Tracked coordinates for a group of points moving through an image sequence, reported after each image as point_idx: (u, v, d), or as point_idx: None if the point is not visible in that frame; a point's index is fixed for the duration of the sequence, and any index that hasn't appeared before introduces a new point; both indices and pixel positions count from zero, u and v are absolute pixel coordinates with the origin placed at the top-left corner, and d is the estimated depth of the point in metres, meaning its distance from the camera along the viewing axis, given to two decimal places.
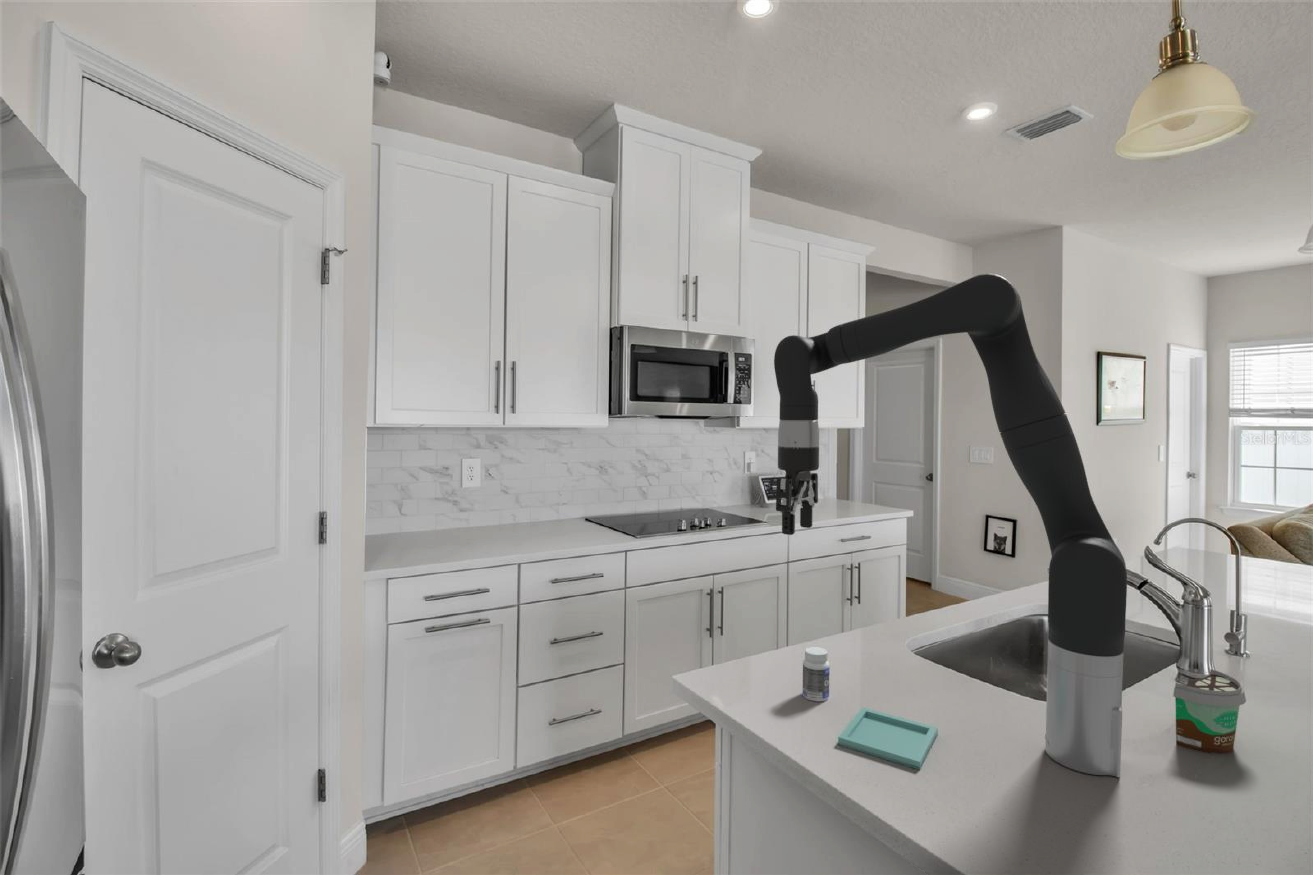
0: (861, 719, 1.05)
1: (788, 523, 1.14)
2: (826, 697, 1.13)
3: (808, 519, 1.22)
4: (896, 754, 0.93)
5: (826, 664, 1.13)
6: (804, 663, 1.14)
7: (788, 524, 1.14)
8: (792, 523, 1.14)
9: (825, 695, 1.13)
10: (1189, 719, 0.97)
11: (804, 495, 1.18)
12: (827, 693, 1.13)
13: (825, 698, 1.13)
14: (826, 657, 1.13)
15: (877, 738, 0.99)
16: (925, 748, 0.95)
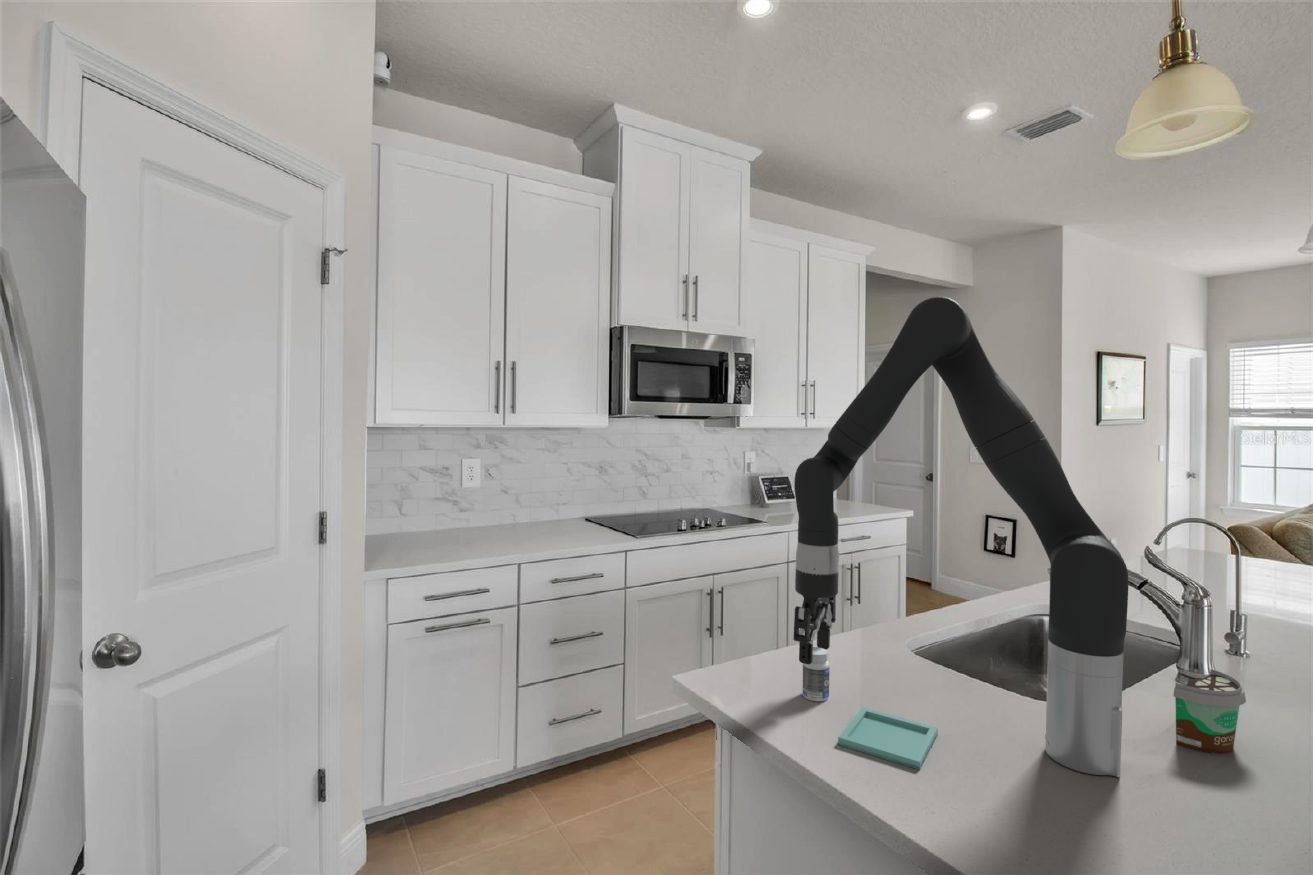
0: (861, 719, 1.05)
1: (806, 653, 1.10)
2: (826, 697, 1.13)
3: (825, 640, 1.17)
4: (896, 754, 0.93)
5: (826, 664, 1.13)
6: None
7: (805, 654, 1.10)
8: (810, 652, 1.10)
9: (825, 695, 1.13)
10: (1189, 719, 0.97)
11: (822, 619, 1.14)
12: (827, 693, 1.13)
13: (825, 698, 1.13)
14: (826, 657, 1.13)
15: (877, 738, 0.99)
16: (925, 748, 0.95)
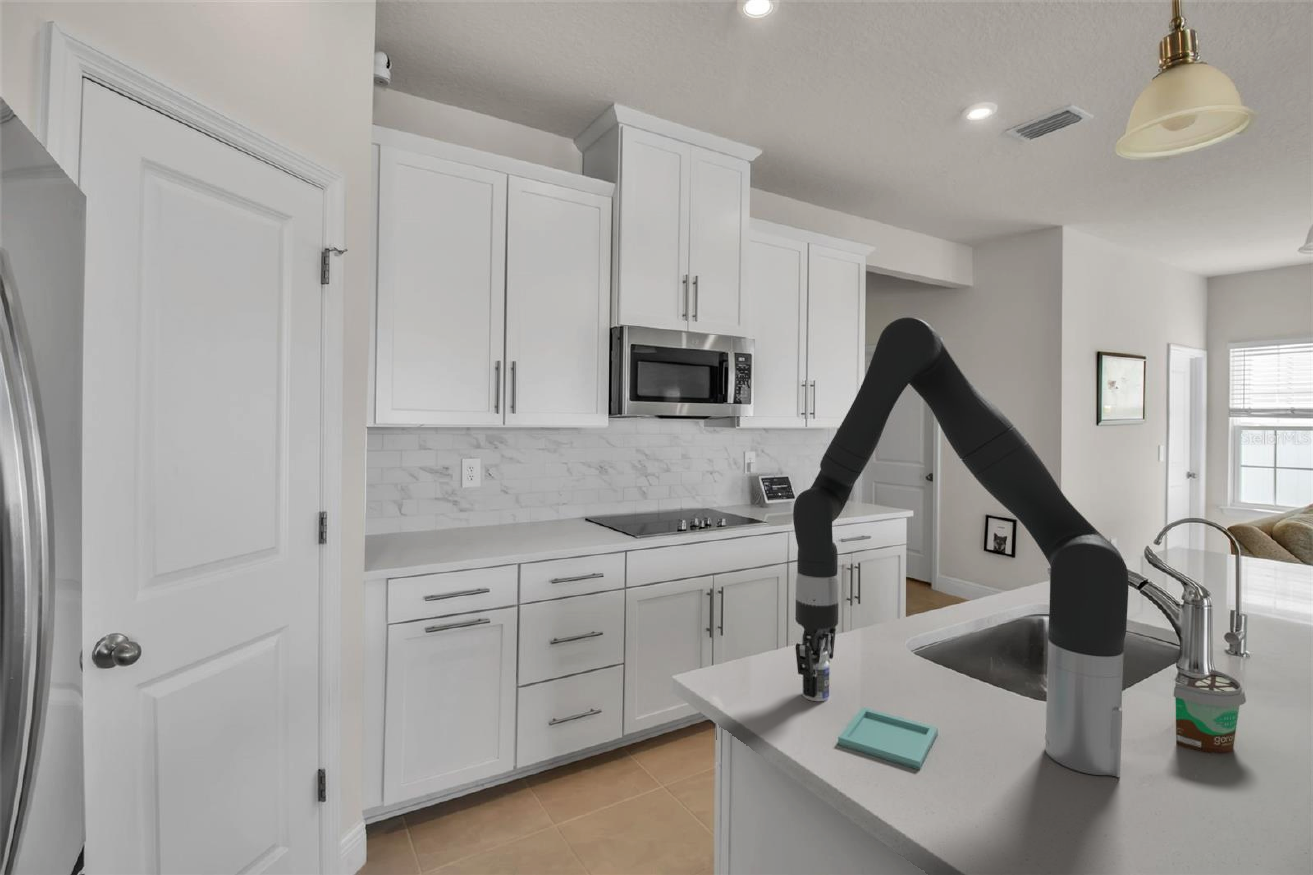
0: (861, 719, 1.05)
1: (810, 686, 1.11)
2: (826, 697, 1.13)
3: None
4: (896, 754, 0.93)
5: (826, 664, 1.13)
6: None
7: (810, 687, 1.11)
8: (814, 685, 1.12)
9: (825, 695, 1.13)
10: (1189, 719, 0.97)
11: None
12: (827, 693, 1.13)
13: (825, 698, 1.13)
14: (826, 657, 1.13)
15: (877, 738, 0.99)
16: (925, 748, 0.95)
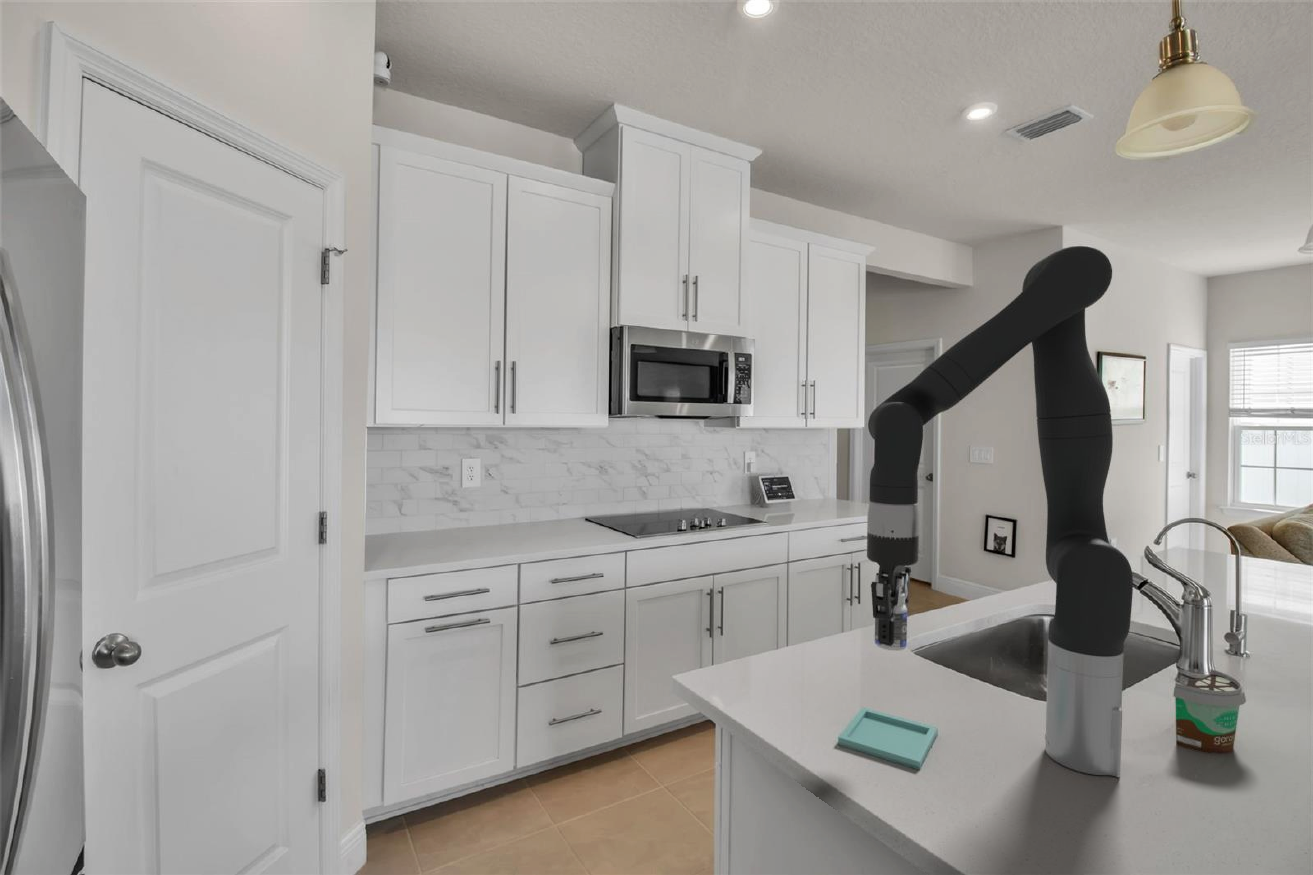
0: (861, 719, 1.05)
1: (887, 632, 0.96)
2: (904, 646, 0.97)
3: None
4: (896, 754, 0.93)
5: (904, 607, 0.97)
6: None
7: (887, 633, 0.96)
8: (891, 632, 0.96)
9: (903, 643, 0.97)
10: (1189, 719, 0.97)
11: None
12: (905, 641, 0.97)
13: (903, 647, 0.97)
14: (904, 599, 0.97)
15: (877, 738, 0.99)
16: (925, 748, 0.95)
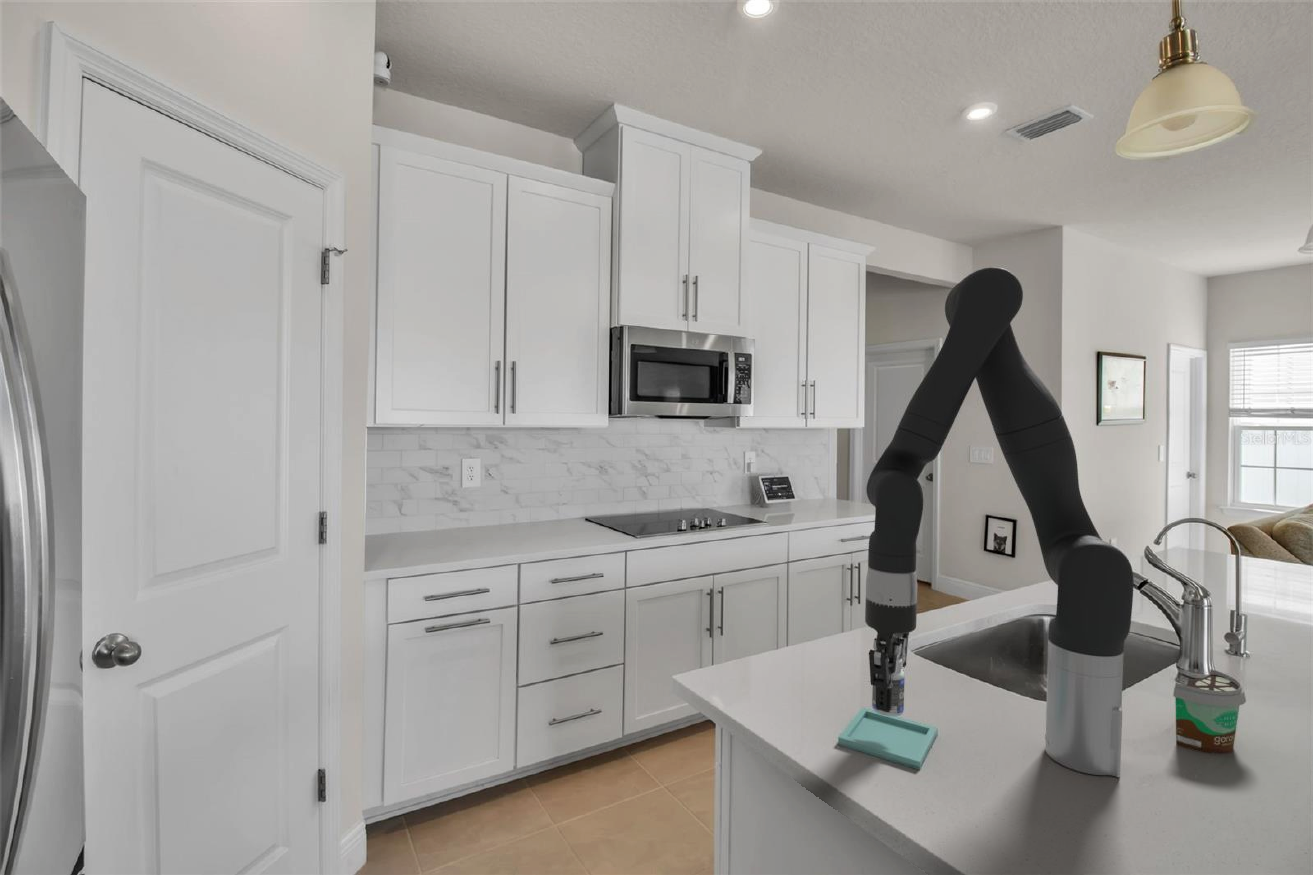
0: (861, 719, 1.05)
1: (884, 699, 0.96)
2: (901, 712, 0.98)
3: None
4: (896, 754, 0.93)
5: (901, 673, 0.98)
6: None
7: (884, 700, 0.96)
8: (889, 698, 0.96)
9: (900, 709, 0.98)
10: (1189, 719, 0.97)
11: None
12: (902, 707, 0.98)
13: (900, 713, 0.98)
14: (901, 665, 0.98)
15: (877, 738, 0.99)
16: (925, 748, 0.95)
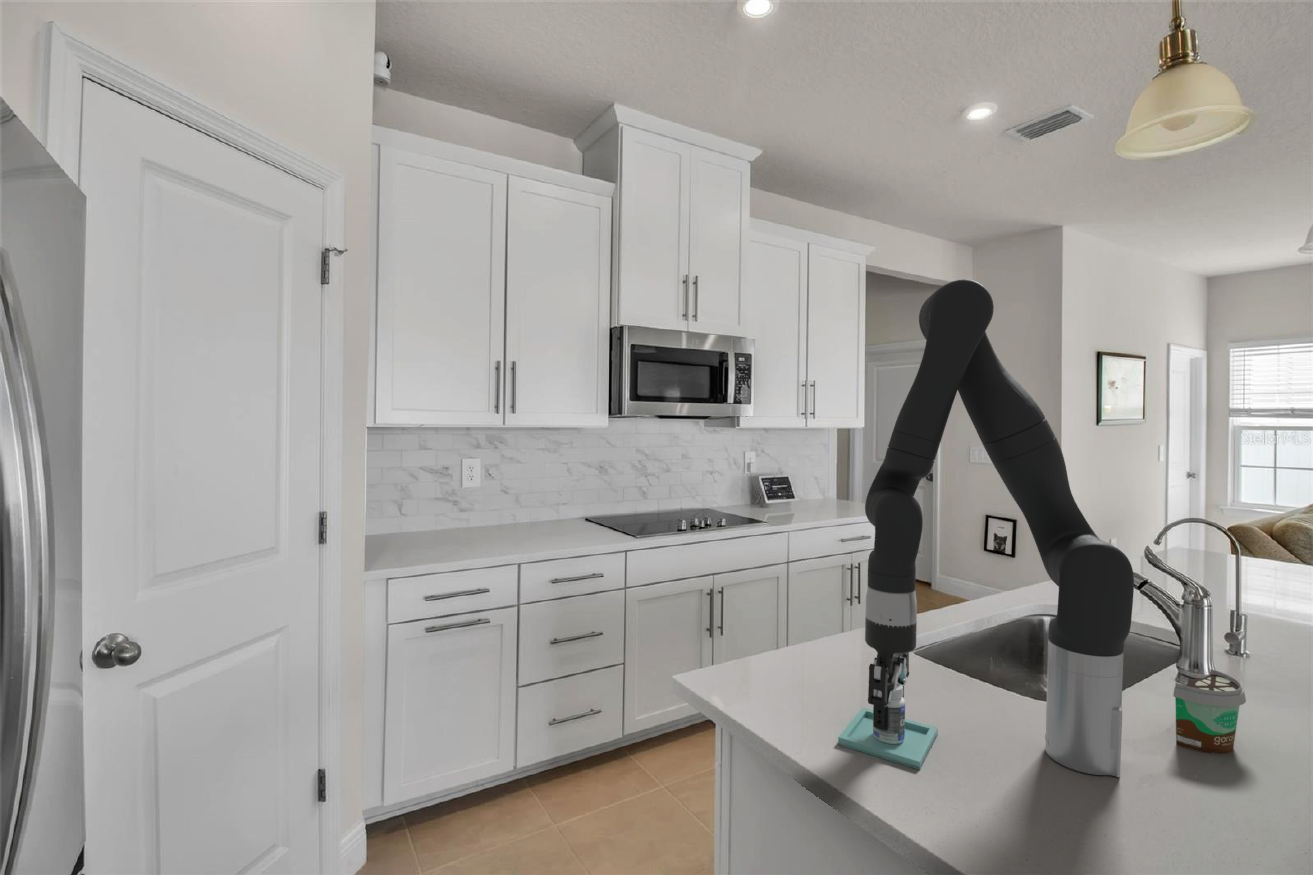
0: (861, 719, 1.05)
1: (882, 718, 0.95)
2: (902, 739, 0.98)
3: None
4: (896, 754, 0.93)
5: (902, 701, 0.98)
6: None
7: (882, 719, 0.95)
8: (887, 717, 0.95)
9: (901, 737, 0.98)
10: (1189, 719, 0.97)
11: None
12: (903, 734, 0.98)
13: (901, 740, 0.98)
14: (902, 692, 0.98)
15: None
16: (925, 748, 0.95)
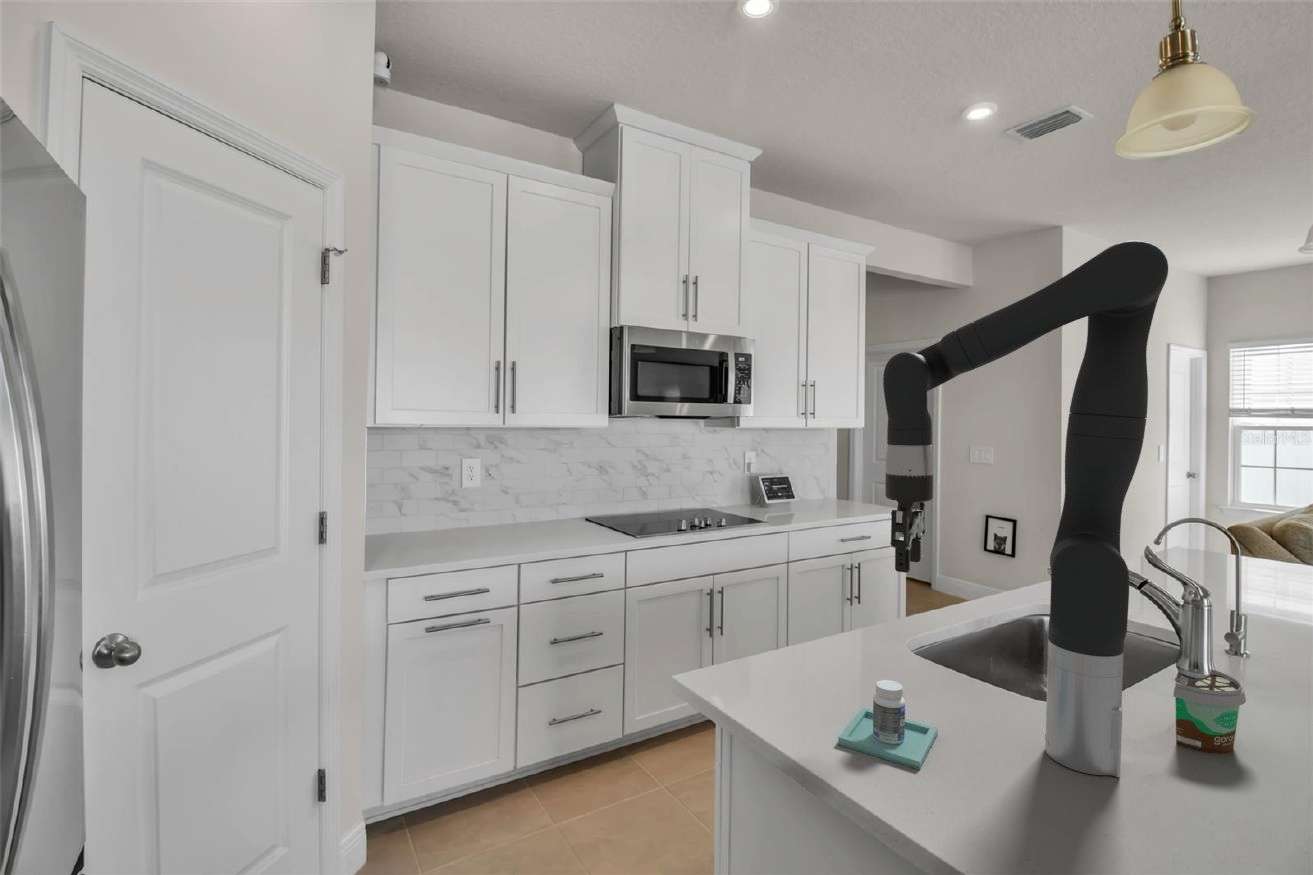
0: (861, 719, 1.05)
1: (904, 560, 1.03)
2: (902, 739, 0.98)
3: (916, 553, 1.11)
4: (896, 754, 0.93)
5: (902, 701, 0.98)
6: (876, 699, 0.99)
7: (903, 561, 1.03)
8: (908, 559, 1.03)
9: (901, 737, 0.98)
10: (1189, 719, 0.97)
11: None
12: (903, 734, 0.98)
13: (901, 740, 0.98)
14: (901, 693, 0.98)
15: None
16: (925, 748, 0.95)
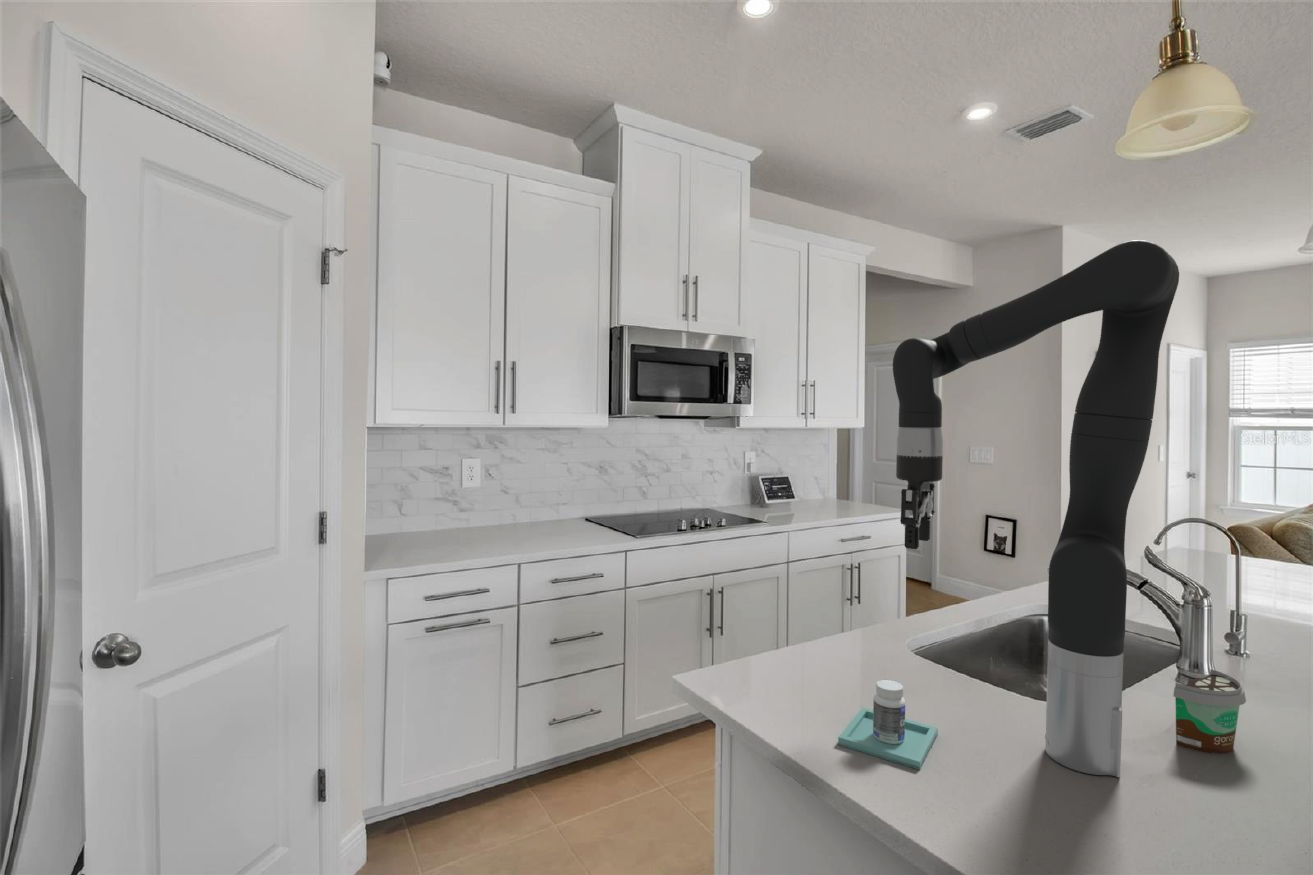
0: (861, 719, 1.05)
1: (913, 537, 1.08)
2: (902, 739, 0.98)
3: (926, 532, 1.15)
4: (896, 754, 0.93)
5: (902, 701, 0.98)
6: (876, 698, 0.99)
7: (912, 538, 1.08)
8: (917, 537, 1.08)
9: (901, 737, 0.98)
10: (1189, 719, 0.97)
11: None
12: (903, 734, 0.98)
13: (901, 740, 0.98)
14: (902, 693, 0.98)
15: None
16: (925, 748, 0.95)
